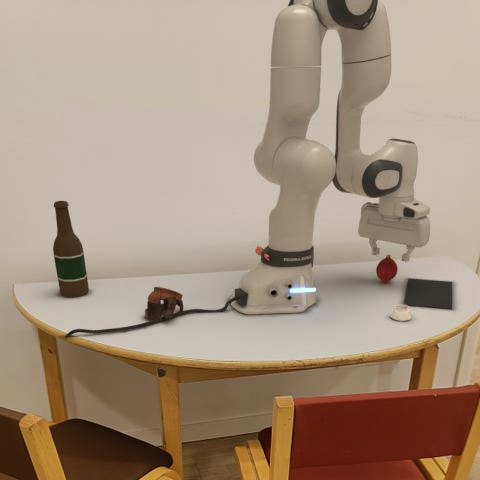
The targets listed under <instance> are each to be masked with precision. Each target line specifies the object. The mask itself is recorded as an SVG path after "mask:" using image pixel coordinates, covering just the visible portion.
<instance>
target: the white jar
mask: <svg viewBox="0 0 480 480" xmlns="http://www.w3.org/2000/svg"><path fill="white" fill-rule="evenodd" d="M390 317H391V318H392V319H393V320H395V321H399V322H405V321H409V320H411V319H412V317H413V314H412V312H411V309H410V306H407V305H404V304H397V305H395V308H393V310H392V311H391V313H390Z"/></svg>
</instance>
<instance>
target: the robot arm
mask: <svg viewBox="0 0 480 480" xmlns="http://www.w3.org/2000/svg"><path fill="white" fill-rule="evenodd" d="M333 30H335V31H336V32H337V35H338V37H339V40H340V44H341V47H340V48H341V49H340V50H341V51H340V52H341V84H340V89H339V92H338V95H337V101H336V114H335V115H336V116H335V118H336V119H335V121H336V122H335V151H334V153H333V152H332V150H331V149H330V148H328V146H327V147H326V146H325V145H324V144H323V143H321V142H319V141H316V140H315V139H308V138H307V132H308V129H309V125H310V122H311V120H312V117H313V116H314V115H315V114H316V112H317V111H318V109H319V107H320V102H321V101H320V100H321V82H322V81H321V78H322V47H323V42H324V38H325V36H326V33H327V32H328V31H333ZM272 31H273V32H272V39H271V48H270V75H269V76H270V77H269V78H270V79H269V80H270V81H269V105H268V107H269V108H268V114H267V120H266V124H265V129H264V133H263V136H262V139H261V140H260V141H259V143H258V144H257V146H256V148H255V150H254V154H253V164H254V167H255V169H256V171H257V173H258V174H259V175H260V176H261V177H263V178H264V179H265V180H266V181H268V182H269V183H272V184H274V185H278V186H279V194H278V199H277V202H276V204H275V206H274V208H272V209H271V210H270V212H269V215H268V243H267V244H268V245H267V246H266V247H264V248H263V247H262V246H260V245H257V246H256V248H255V250H254V251H255V253H256V254H257V255H258V256H260V261H259V262H258V263H257V264H256V265H254V267H253V266H252V268H251V269H250V270H249V271H247V272H246V273H245V274H243V275H242V276H241V278H240V281H239V285H238V288H234V293H232V294H231V295H230V297H229V300H228V301H226V303H225V304H224V306H223V307H222V308H219V309H204V308H192V309H186V310H183V311H181V312H180V311H178V312H174V315H173V317H172V318H176V317H179V316H182V315H187V314H191V313H201V314H202V313H203V314H205V313H207V314H208V313H210V314H211V313H222V312H225V311H226V310H227V309H228V308H229V306H230V305H231V306H232V308H233V309H235V310H236V311H237V312H239V313H241V314H244V315H266V314H292V313H294V314H295V313H296V314H297V313H303V312H305V311H306V310H307V308H309V307H312V306H313V305H314V304H315V303H317V299H316V295H315V292H316V289H317V288H316V287H314V281H313V267H314V261H315V246H314V245H313V242H314V241H313V240H314V238H313V237H314V224H315V217H316V216H315V215H316V213H317V212H316V211H317V208H318V204H319V202H320V198H321V196H322V194H323V192H324V191H325V190H326V189H327V188H328V187H329V186H330V185H331V183H332V184H333V186H334V188H336V190H338V192H340V193H344V194H353V195H356V196H360V197H365V198H368V199H377V198H378V203H377V202H371V201H366V202H365V203H363V204H362V205H361V208H360V218H359V223H358V229H357V233H358V235H359V237H361V238H365V239H368V243H369V246H370V248H371V255H372V256H379V255H380V252H381V251H380V250H381V248H380V247H378V245H377V242H378V241H382V242H386V243H387V242H388V243H393V244H398V245H403V246H406V250H407V251H406V252H405V253H403V254H402V255H401V261H402V262H406V263H407V262H409V261H410V257H411V254H412V253H413V251H414V250H415V249H416V248H419V249H421V248H422V247H426V245H428V244H429V242H430V237H431V236H430V235H431V220H430V218H429V216H428V215H430V213H431V207H430V206H429V205H428V204H425V203H424V202H422V201H420V200H419V199H416V198H415V189H414V185H415V181H416V178H417V172H418V161H419V160H418V159H419V155H418V154H419V152H418V146H417V144H416V143H415V142H414V141H412V140H407V139H400V138H389V139H388V140H387V141H386V143H385V144H384V145H383V146H382V147H381V148H379V149H378V150H377V151H375V152H374V153H372V154H370V155H369V154H364V153H363V151H362V150H361V146H360V145H361V125H362V115H363V112H364V110H365V109H366V107H367V106H368V105H369V104H371V103H372V102H374V101H376V100H377V99H378V98H380V97H381V96H382V94H384V92H385V91H386V89H387V88H388V86H389V84H390V81H391V75H392V43H391V42H392V41H391V31H390V24H389V18H388V14H387V9H386V6H385V4H384V3H383V2H381V1H380V0H289V2H288V4H287V6H286V7H284V8H282V9H281V10H280V11H279V13H278V14H277V16H276V18H275V21H274V25H273V30H272ZM172 318H169V319H166V318H165V317H164V316H162V319H155V320H149V321H146V322H141V323H138V324H133V325H129V326H128V325H127V326H122V327H114V328H103V329H87V328H76V329H72V330H70V331H69V332H68V333H66V335H65V336H64V338H70V337H71V336H72V335H75V334H78V333H83V334H95V335H96V334H105V333H116V332H124V331H130V330H134V329H140V328H145V327H146V326H151V325H153V324H157V323H161V322H164V321H166V320H170V319H172ZM160 321H161V322H160Z"/></svg>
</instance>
